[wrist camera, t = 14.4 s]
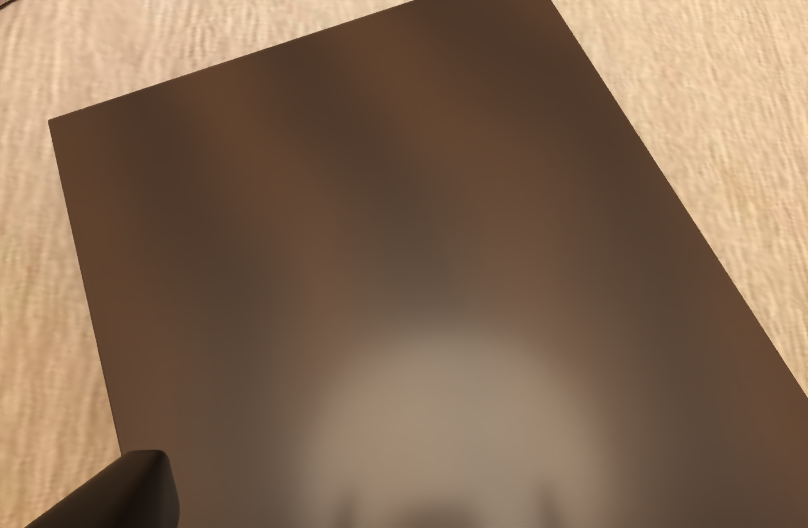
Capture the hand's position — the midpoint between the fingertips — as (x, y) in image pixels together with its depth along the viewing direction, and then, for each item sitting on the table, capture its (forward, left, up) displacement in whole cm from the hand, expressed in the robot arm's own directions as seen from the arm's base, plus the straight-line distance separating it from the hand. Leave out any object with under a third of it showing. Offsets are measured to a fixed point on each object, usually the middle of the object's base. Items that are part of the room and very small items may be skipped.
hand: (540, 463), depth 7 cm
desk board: (+1, +5, -13) cm, 14 cm away
